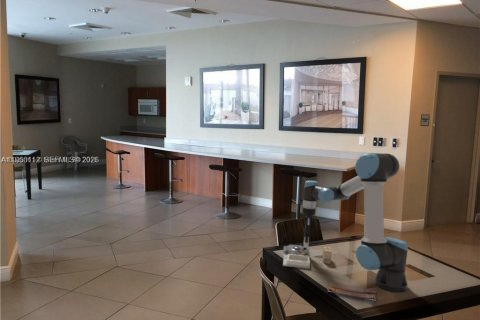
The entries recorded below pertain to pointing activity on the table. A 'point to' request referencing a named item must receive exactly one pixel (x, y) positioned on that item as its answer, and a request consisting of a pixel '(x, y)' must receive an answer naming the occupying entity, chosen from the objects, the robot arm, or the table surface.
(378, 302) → the table surface
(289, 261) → the base plate
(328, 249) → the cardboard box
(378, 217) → the robot arm
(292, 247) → the sprocket
